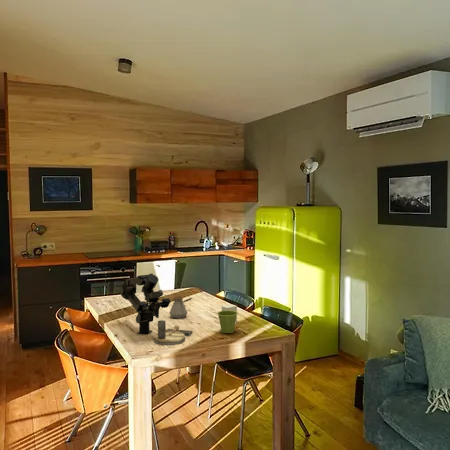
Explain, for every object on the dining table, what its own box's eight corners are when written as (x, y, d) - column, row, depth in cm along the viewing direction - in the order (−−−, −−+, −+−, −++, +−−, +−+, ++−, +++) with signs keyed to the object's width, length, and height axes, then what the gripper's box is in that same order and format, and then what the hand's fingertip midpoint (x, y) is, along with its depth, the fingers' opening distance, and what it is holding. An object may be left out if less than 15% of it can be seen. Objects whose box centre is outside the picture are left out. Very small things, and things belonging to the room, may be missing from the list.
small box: (231, 320, 292) (231, 304, 292) (237, 322, 288) (237, 305, 287) (221, 322, 287) (221, 305, 287) (227, 324, 283) (227, 307, 282)
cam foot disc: (164, 330, 267) (164, 312, 266) (191, 332, 264) (190, 313, 263) (150, 341, 246) (150, 322, 245) (179, 343, 243) (179, 323, 242)
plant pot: (216, 329, 273) (216, 310, 272) (236, 329, 273) (237, 310, 273) (217, 335, 261) (217, 315, 260) (238, 335, 262) (238, 315, 261)
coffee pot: (166, 316, 302) (166, 293, 301) (181, 313, 309) (180, 291, 308) (184, 323, 285) (184, 299, 284) (199, 320, 292) (199, 297, 291)
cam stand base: (166, 331, 269) (166, 328, 268) (194, 334, 264) (194, 330, 263) (148, 343, 247) (148, 340, 247) (178, 346, 242) (178, 343, 242)
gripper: (137, 287, 249) (145, 311, 240) (168, 283, 259) (178, 307, 250) (132, 299, 256) (140, 323, 247) (163, 295, 266) (171, 318, 257)
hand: (157, 317), depth 250 cm, fingers closed
